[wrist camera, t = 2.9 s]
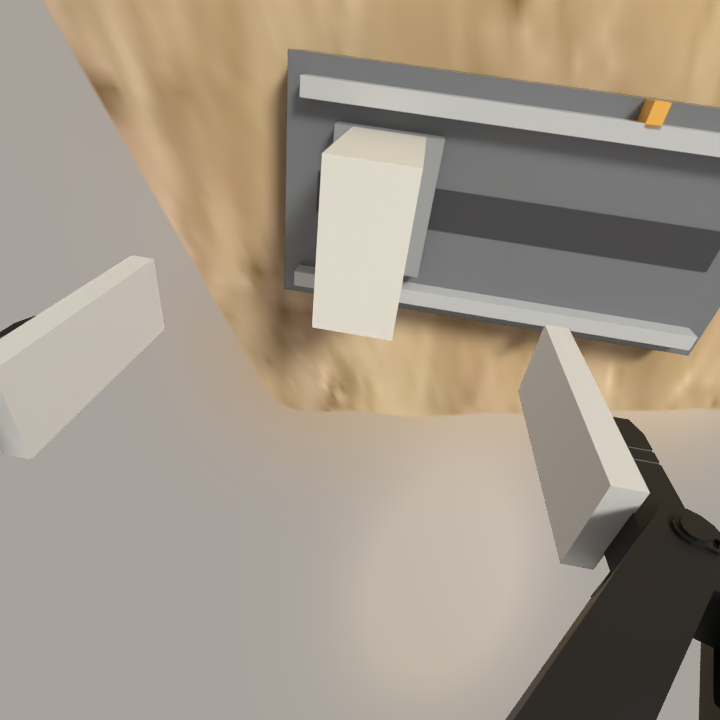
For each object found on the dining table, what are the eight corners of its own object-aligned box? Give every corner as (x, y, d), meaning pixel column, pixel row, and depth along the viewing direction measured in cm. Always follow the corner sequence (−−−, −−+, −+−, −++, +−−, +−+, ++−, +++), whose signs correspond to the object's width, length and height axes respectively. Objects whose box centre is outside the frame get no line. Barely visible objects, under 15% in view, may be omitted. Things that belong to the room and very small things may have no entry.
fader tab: (327, 256, 30) (292, 323, 22) (337, 121, 25) (296, 149, 18) (417, 271, 29) (411, 344, 22) (444, 136, 25) (448, 172, 17)
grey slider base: (293, 274, 34) (279, 296, 31) (299, 49, 26) (281, 48, 23) (672, 336, 32) (696, 365, 29) (804, 119, 24) (857, 128, 21)
